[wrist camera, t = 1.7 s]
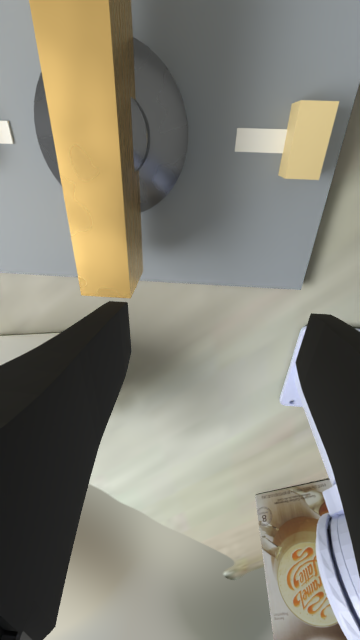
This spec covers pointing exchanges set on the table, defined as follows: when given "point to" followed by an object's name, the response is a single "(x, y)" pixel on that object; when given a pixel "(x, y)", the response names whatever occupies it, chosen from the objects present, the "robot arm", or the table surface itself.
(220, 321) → the table surface
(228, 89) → the base
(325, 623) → the coffee box
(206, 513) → the table surface
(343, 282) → the table surface
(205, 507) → the table surface
